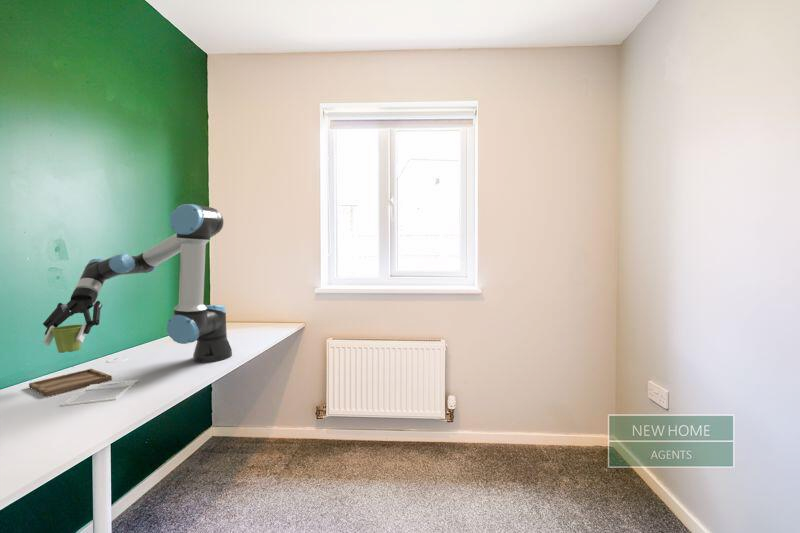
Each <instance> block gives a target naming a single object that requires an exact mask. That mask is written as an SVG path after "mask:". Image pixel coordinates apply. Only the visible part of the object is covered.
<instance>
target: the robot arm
mask: <svg viewBox="0 0 800 533" xmlns="http://www.w3.org/2000/svg"><path fill="white" fill-rule="evenodd" d="M169 223H170V226H171V228H172V229H173V231H174V232H175V233H173V235H170V236H169V237H167V238H165V239H164V240H162V241H160V242H159V243H157V244H155V245H153V246H152V247H150V248H148V249H147V250H145V251H144V252H142V253H140V254H138V255H131V254H130V255H129V254H127V253H121V254H116V255H114V256H111V257H110V258H107V259H103V258H92V259H91V260H89V261H88V263H87V264H86V265H85V266H84V269H83V271H82V274H81V275H80V278H79V280H78V281H77V284H76V286H75V287H74V290H73V292H72V293H71V296H70V300H69V301H68V302H67V303H62V302H58V303H57V305H56V308H55V309H54V310H53V311H52V313H50V315H49V316H48V317H47V318H46V320H45V321H44V322H43V323H42V325H43V326H44V327H45V328H46V330H45V332H44V339H43V340H42V342H43V343H44V344H45V345H46V346H50V345H51V344H52V341H53V339H54V335H53V334H52V331H50V329H52V328H56V327H60V325H62V324H63V323H64V322H65V321H66V320H68V318H70V317H73V316H74V315H76V314H83V316H84V320H85V323H82V324H81V325H82V327H81V329H80V332H79V334H78V336H77V338H76V340H77V341H78V342H79V343H81V344H83V342H84V341H85V337H86V336H87V335H88V334H89V333H90V332H91V330H92V328H93V326H99V325H100V319H101V309H102V307H103V304H102V303H101V301H100V300H97V299H98V295H99V294H100V291H101V290H102V287H103V285H104V283H105V281H107V280H109V279H112V278H115V277H117V276H122V275H133V274H134V275H135V274H148V273H152V272H154V271H155V270H156V269H157V267H158V266H159V265H160V264H162V263H164V262H165V261H167V260H169V259H171V258H173V257H174V256H176V255H178V254H180V259H179V261H180V262H179V283H178V284H179V288H178V304H177V305H176V306H174V308H173V316H171V317H170V318H169V319H168V321H167V323H166V332H167V335H168V336H169V338H170V339H171V340H172V341H173V342H175V343H177V344H182V345H184V344H186V345H187V344H190V343H194V342H196V343H195V344H196V345H195V348H194V351H193V357H192V358H193V362H196V363H211V362H218V361H222V360H223V361H224V360H226V359H229V358H230V357H232V356H233V350H232V347H231V345H230V342H229V340H228V335H227V316H226V314H227V312H226V308H225V306H224V305H222V304H212V305H211V304H210V305H209V304H204V296H205V295H204V294H205V293H204V292H205V274H206V273H205V272H206V271H205V269H206V267H205V266H206V245H207V244H208V243H209V242H210V241H211V238H212V237H214V236H216V235H218V234H219V233H220V232H221V231H222V229H223V227H224V217H223V216H222V213H220V211H218V209H216V208H213V207H210V206H205V205H199V204H195V203H194V204H193V203H191V204H190V203H185V204H181V205H179V206H177V207H176V208H175V209H174V210H173V211H172V213H171V215H170V218H169ZM96 300H97V301H96ZM92 307H93V310H92V312H93V313H92V317H91V313H90V309H91V308H92Z"/></svg>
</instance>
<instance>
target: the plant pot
mask: <svg viewBox="0 0 800 533" xmlns="http://www.w3.org/2000/svg"><path fill="white" fill-rule="evenodd" d="M82 325H83V324H71V325H63V326H62V325H61V326H58V327H56V328H52V329H50V331H52V334H53V335H54V337H53V339H54V342H55V346H56V349H57V352H58V353H60V354H62V353H66V352H67V353H72V352H76V351H79V350H80V349H81V348H82V346H81V345H82V343H79V342H78V341H77V340H76V338H77V336H78V334H79V332H80V329H81V327H82Z"/></svg>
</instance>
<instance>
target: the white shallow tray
mask: <svg viewBox="0 0 800 533" xmlns="http://www.w3.org/2000/svg"><path fill="white" fill-rule="evenodd" d="M136 382H137V383H138V382H139V379H132V380H122V381H111V382H103V383H99V384H92V385H90V386H88V387H84V388H83V389H82V390H80V391H79V392H77V393H76V394H74V395H73V396H71V397H70V398H69V399H67V400H65V401H63V403H61V404H60V407H66V405H68V406H75V405H83V404H84V405H85V404H91V403H92V404H93V403H98V402H99V403H101V402H110V401H116V400H118V399H119V398H120V397H121V396H122V395H124V394H125V393H126V392H127V391H129V390H130V389H131V388H132V387H133V386H134V385H136V384H135V383H136ZM127 386H128V387H127ZM118 387H119V388H125V389H123V390H122V391H121V392H119V394H117V395H116V396H115V397H110V398H109V397H108V398H102V399H101V398H100V399H93V400H92V399H91V400H84V401H83V400H82V401H76V402H72V401H73V400H74V399H76V398H78V397H79V396H80V395H82V394H83V393H85V392H90V391H99V390H109V389H117V388H118ZM129 388H130V389H129ZM71 400H72V401H71ZM68 402H69V403H68Z"/></svg>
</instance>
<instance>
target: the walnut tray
mask: <svg viewBox="0 0 800 533" xmlns="http://www.w3.org/2000/svg"><path fill="white" fill-rule="evenodd" d="M112 379H113V378H112V375H110V374H108V373H105V372H102V371H99V370H96V369H94V368H89V369H84V370H80V371H76V372H72V373H67V374H63V375H60V376H59V375H58V376H55V377H54V376H53V377H50V378H46V379H41V380H38V381H33V382H30V383H28V387H30V388H29V389H31V388H32V389H33V391H34V390H35V392H36V391H37V393H38V392H39V394H40V393H41V394H40V395H42V394H43V395H42V396H44V395H45V396H44V397H46V396H47V397H46V398H49V397H48V396H50V397H53V396H52V395H54V396H56V394H58V395H60V393H61V394H64V392H65V393H68V391H69V392H73V391H77V390H79V389H85V388H87V386H90V385H92V384H98V383H99V384H102V382H103V383H107V382H110V381H112ZM109 380H110V381H109ZM32 389H31V390H32ZM72 390H73V391H72Z"/></svg>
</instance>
